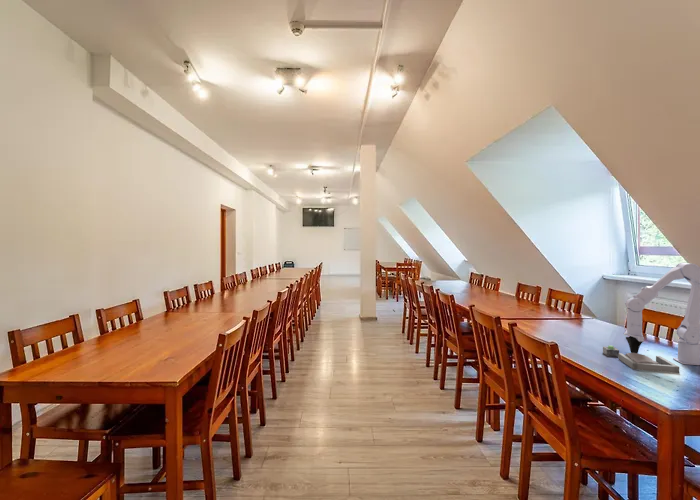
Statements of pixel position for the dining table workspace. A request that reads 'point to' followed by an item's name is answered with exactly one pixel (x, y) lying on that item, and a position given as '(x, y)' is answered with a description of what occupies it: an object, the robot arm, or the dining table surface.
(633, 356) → the stone block
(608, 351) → the button box
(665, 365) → the corral
